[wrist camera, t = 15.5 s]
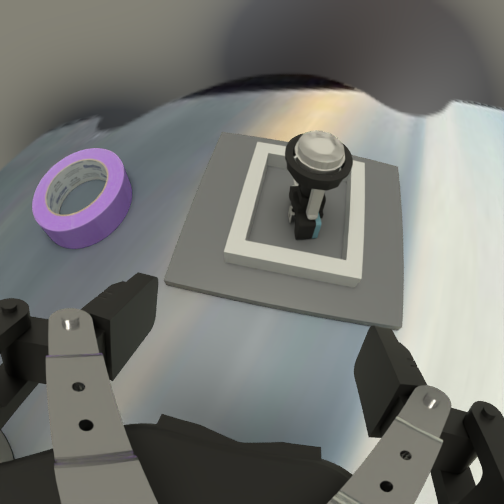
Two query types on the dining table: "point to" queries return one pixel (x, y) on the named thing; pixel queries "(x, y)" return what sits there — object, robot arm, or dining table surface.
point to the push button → (314, 177)
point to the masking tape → (94, 215)
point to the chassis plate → (293, 238)
